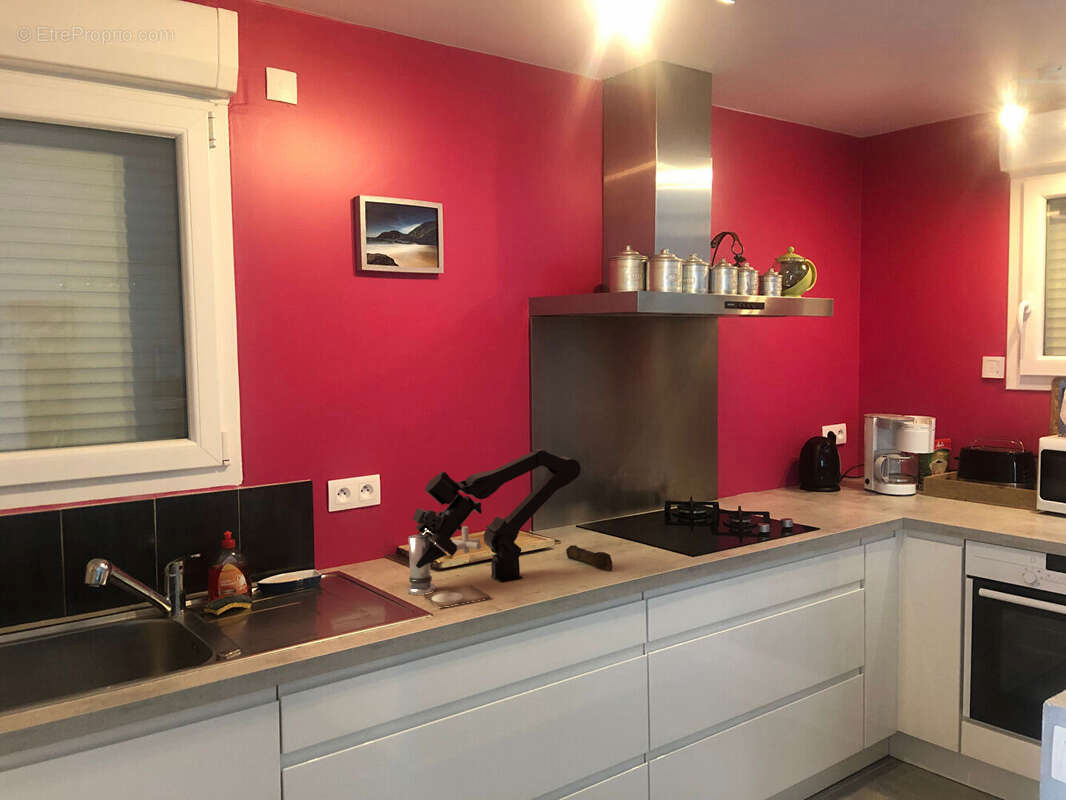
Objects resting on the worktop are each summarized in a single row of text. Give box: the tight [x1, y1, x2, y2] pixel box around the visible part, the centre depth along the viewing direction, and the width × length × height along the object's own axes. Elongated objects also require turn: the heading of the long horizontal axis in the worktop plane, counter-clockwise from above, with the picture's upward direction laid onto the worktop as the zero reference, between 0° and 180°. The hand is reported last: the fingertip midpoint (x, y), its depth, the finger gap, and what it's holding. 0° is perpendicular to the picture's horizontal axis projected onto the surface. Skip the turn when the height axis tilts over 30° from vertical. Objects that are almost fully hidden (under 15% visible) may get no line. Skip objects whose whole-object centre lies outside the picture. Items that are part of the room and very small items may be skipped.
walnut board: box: [422, 585, 491, 607], centre depth 209 cm, size 13×11×1 cm
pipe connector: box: [451, 525, 482, 554], centre depth 243 cm, size 10×10×10 cm
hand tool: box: [565, 544, 613, 572], centre depth 234 cm, size 19×4×5 cm, turn 29°
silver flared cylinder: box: [407, 533, 436, 595], centre depth 216 cm, size 7×7×14 cm
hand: (414, 564), depth 215 cm, fingers closed on silver flared cylinder, 5 cm apart
